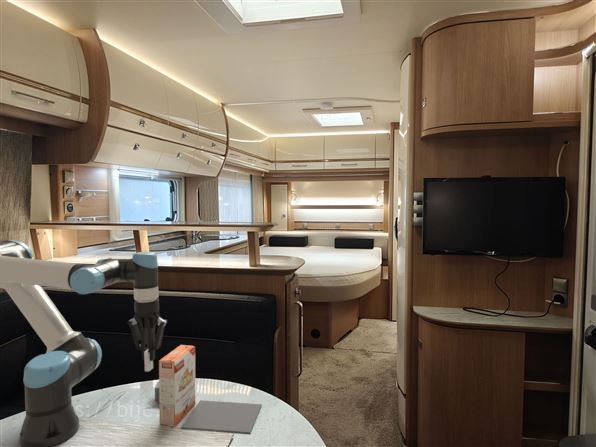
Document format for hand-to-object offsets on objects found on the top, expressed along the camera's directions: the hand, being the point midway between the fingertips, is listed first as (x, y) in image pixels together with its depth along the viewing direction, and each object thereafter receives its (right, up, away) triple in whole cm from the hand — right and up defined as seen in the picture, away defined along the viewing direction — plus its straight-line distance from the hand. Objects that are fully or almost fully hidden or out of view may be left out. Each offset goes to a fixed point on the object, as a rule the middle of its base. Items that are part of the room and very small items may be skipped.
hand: (149, 369), depth 128 cm
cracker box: (+10, -15, 0) cm, 18 cm away
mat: (+25, -15, -2) cm, 29 cm away
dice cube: (+1, -14, +10) cm, 18 cm away
